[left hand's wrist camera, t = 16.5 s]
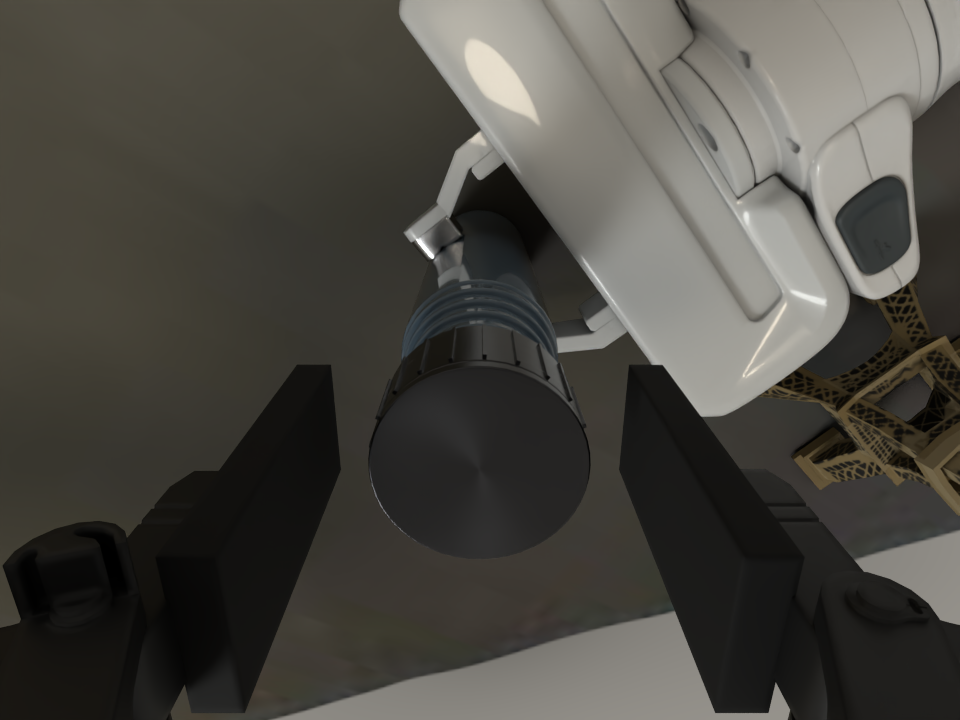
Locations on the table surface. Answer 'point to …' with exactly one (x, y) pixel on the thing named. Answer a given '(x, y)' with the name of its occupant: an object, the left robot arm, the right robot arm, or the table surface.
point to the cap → (479, 444)
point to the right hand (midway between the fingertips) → (463, 302)
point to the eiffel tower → (876, 432)
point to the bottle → (481, 286)
